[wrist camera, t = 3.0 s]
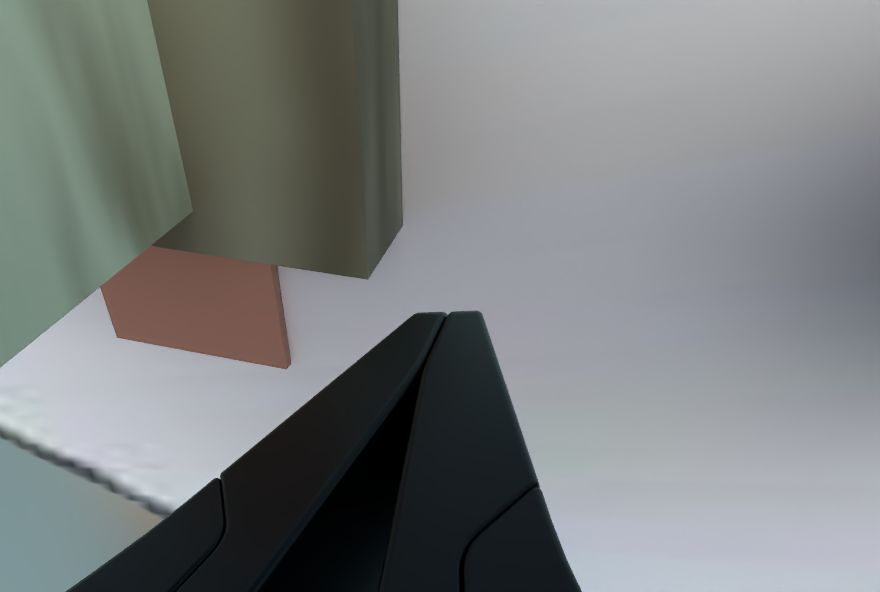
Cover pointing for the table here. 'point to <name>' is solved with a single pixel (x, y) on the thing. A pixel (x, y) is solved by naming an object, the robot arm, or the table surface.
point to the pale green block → (79, 155)
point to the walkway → (285, 129)
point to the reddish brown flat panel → (200, 305)
